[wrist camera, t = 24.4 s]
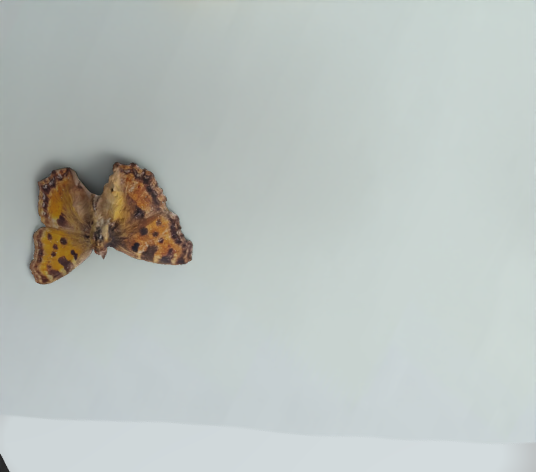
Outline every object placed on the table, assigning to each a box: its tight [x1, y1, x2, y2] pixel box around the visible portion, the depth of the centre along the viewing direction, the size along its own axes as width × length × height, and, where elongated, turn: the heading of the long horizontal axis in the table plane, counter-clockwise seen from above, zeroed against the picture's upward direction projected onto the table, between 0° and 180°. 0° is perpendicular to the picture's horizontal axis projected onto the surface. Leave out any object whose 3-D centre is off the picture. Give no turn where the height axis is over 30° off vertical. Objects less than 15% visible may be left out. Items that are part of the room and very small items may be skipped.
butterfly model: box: [30, 162, 193, 284], centre depth 37 cm, size 9×12×3 cm
